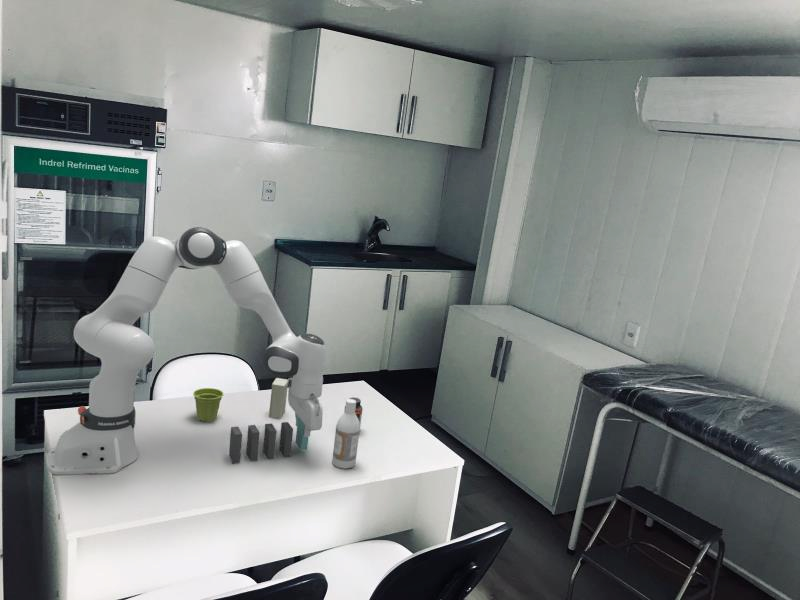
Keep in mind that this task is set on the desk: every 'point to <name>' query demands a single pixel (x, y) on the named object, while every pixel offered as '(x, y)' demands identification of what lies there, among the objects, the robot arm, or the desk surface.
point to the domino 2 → (252, 443)
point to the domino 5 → (301, 436)
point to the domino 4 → (286, 439)
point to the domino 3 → (269, 441)
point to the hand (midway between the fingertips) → (302, 431)
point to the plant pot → (207, 403)
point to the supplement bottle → (357, 408)
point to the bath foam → (346, 437)
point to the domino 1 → (235, 445)
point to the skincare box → (278, 398)
